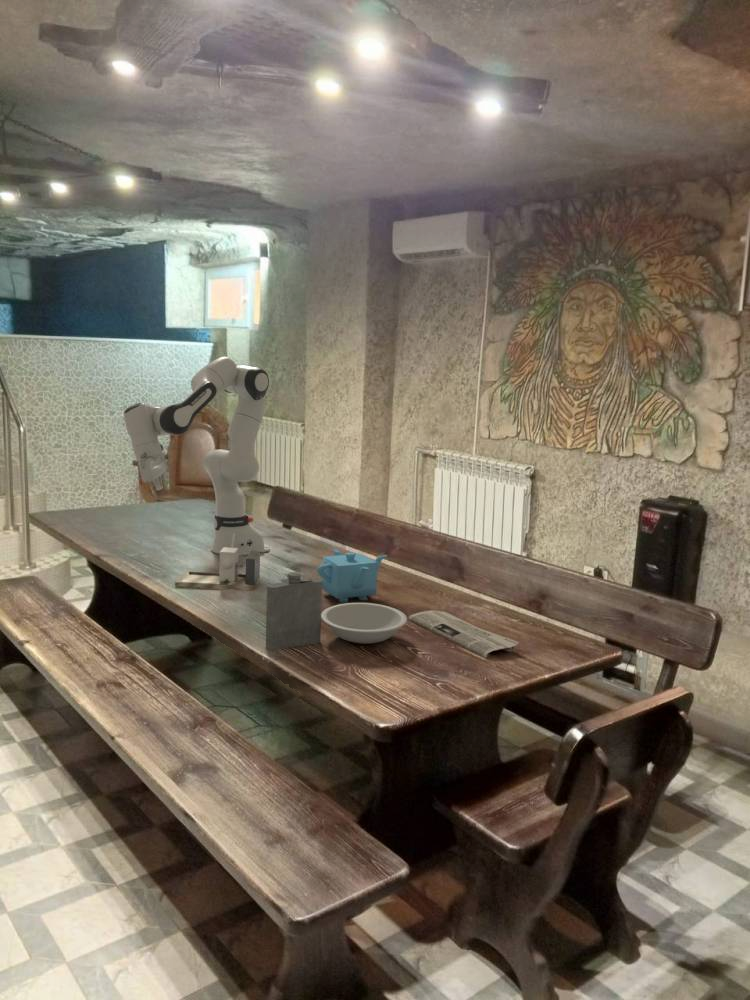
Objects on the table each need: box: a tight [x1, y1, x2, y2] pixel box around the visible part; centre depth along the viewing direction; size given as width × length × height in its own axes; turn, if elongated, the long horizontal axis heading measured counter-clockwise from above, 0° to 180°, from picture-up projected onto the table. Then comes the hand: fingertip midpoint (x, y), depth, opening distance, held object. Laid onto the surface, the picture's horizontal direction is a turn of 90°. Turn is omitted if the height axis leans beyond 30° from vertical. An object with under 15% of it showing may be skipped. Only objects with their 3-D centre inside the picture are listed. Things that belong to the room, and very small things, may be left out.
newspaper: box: [408, 609, 520, 659], centre depth 225 cm, size 35×12×4 cm, turn 35°
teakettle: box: [316, 548, 388, 604], centre depth 253 cm, size 19×19×15 cm
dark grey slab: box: [245, 551, 261, 585], centre depth 261 cm, size 3×10×9 cm, turn 179°
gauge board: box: [174, 571, 261, 592], centre depth 262 cm, size 26×12×2 cm, turn 89°
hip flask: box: [265, 571, 323, 652], centre depth 210 cm, size 16×4×20 cm, turn 121°
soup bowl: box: [321, 602, 408, 644], centre depth 218 cm, size 24×24×7 cm
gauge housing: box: [218, 547, 244, 583], centre depth 259 cm, size 7×9×10 cm
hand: (159, 489), depth 269 cm, fingers closed
